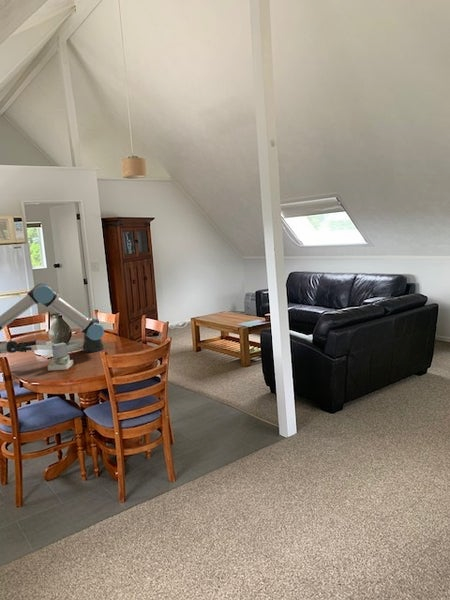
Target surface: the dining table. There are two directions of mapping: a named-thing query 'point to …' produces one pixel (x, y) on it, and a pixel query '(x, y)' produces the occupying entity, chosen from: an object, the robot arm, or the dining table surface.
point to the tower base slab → (61, 366)
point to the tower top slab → (60, 361)
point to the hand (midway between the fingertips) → (41, 345)
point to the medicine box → (59, 350)
